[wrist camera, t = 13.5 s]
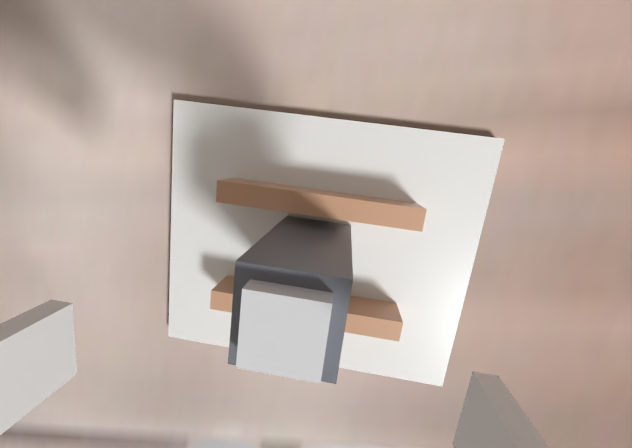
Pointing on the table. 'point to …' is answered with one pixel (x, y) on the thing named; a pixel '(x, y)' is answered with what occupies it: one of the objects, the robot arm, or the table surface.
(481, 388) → the robot arm
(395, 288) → the end holder
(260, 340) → the connector plug
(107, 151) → the table surface
